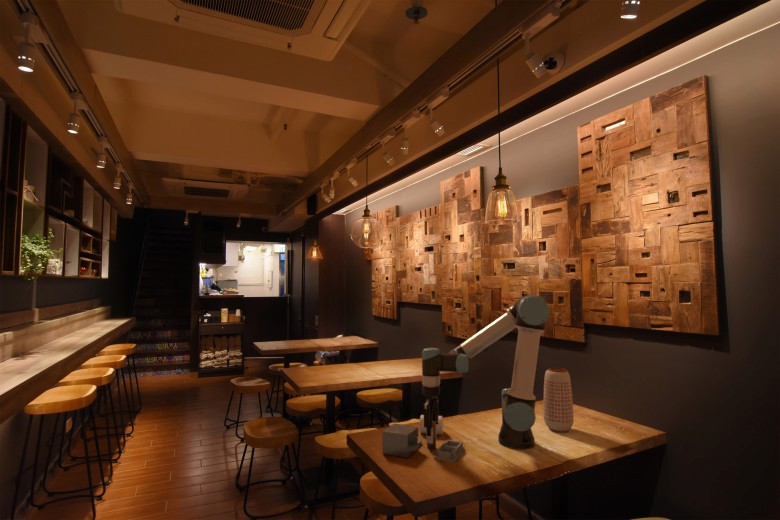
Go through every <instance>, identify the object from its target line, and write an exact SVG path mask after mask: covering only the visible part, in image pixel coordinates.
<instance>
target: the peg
mask: <svg viewBox="0 0 780 520" xmlns="http://www.w3.org/2000/svg"><path fill="white" fill-rule="evenodd" d="M432 427H433V444H429V443H426V444H427V445H426V446H427V447H426V448H427V450H431V451H432V450H436V449H437V434H436V421H435V420H432Z"/></svg>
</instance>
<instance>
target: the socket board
mask: <svg viewBox="0 0 780 520" xmlns="http://www.w3.org/2000/svg"><path fill="white" fill-rule="evenodd" d="M463 443H464V442H462V441H456V440H451V439H446V441H444V442H443V443H442V444H441V445H440V446H439V447H438V448H436V449H437V450H436V449H435V455H433V460H437V461H443V462H446V463H447V462H448V463H452V464H454V463H455V462H456V461H457V459H458V458H459V457H460V456H461V455H462V454H463V452H464V450H465V446H464V444H463Z"/></svg>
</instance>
